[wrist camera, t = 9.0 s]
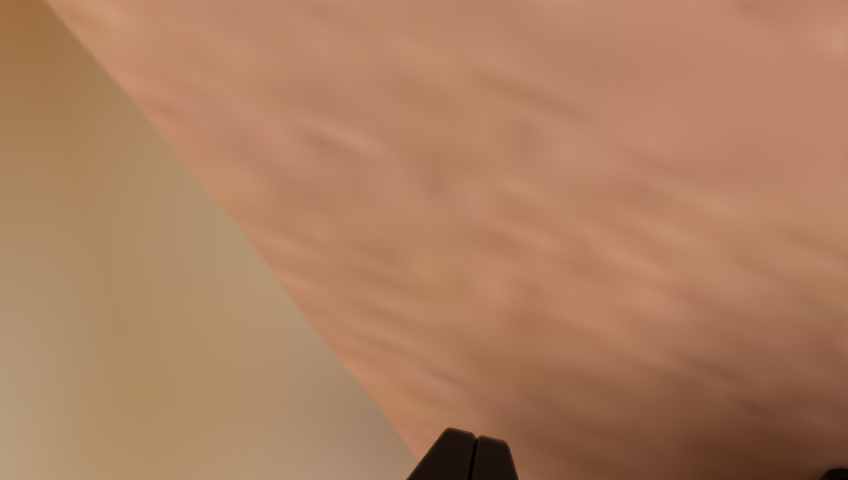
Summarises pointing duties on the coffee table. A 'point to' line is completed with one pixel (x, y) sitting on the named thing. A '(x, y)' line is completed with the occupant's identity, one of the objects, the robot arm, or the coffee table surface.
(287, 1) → the coffee table surface
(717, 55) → the coffee table surface
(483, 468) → the robot arm
